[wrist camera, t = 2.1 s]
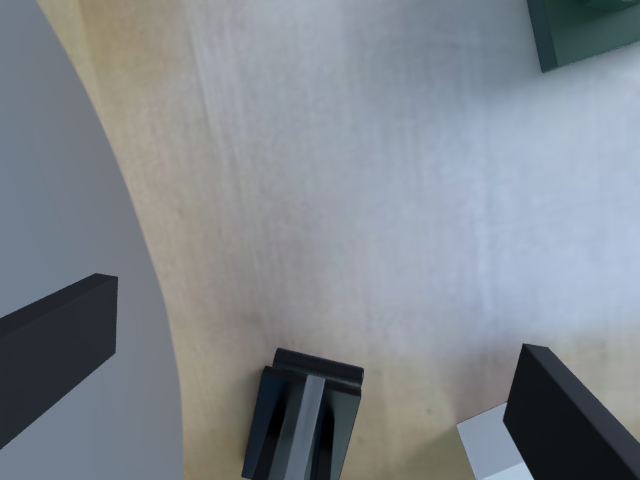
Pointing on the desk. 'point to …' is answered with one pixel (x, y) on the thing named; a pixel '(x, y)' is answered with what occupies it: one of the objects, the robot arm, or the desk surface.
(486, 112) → the desk surface
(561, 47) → the dark green button base
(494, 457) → the white cube
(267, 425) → the black lever stand
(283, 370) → the lever
